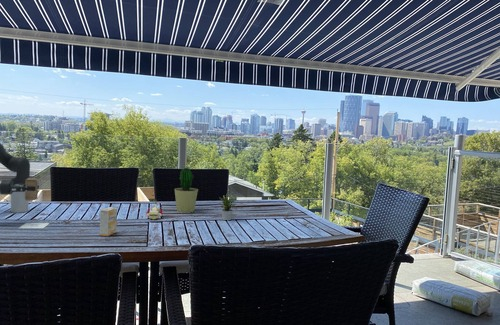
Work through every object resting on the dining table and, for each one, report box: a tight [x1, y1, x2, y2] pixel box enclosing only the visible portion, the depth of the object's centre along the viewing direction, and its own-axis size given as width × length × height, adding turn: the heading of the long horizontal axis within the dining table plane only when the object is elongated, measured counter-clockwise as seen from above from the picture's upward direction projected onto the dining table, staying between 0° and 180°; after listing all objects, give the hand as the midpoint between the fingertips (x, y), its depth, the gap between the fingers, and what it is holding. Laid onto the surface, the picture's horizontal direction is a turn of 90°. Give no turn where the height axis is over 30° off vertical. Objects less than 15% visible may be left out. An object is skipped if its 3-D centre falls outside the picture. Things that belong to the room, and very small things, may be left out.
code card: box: [18, 222, 50, 229], centre depth 205 cm, size 11×12×1 cm
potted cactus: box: [174, 166, 199, 213], centre depth 257 cm, size 15×15×30 cm
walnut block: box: [25, 177, 39, 201], centre depth 207 cm, size 5×5×11 cm
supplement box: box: [99, 206, 118, 237], centre depth 195 cm, size 8×5×13 cm, turn 168°
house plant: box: [217, 193, 239, 221], centre depth 236 cm, size 14×14×16 cm
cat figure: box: [145, 200, 164, 220], centre depth 241 cm, size 10×9×25 cm
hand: (36, 187), depth 208 cm, fingers closed on walnut block, 4 cm apart
